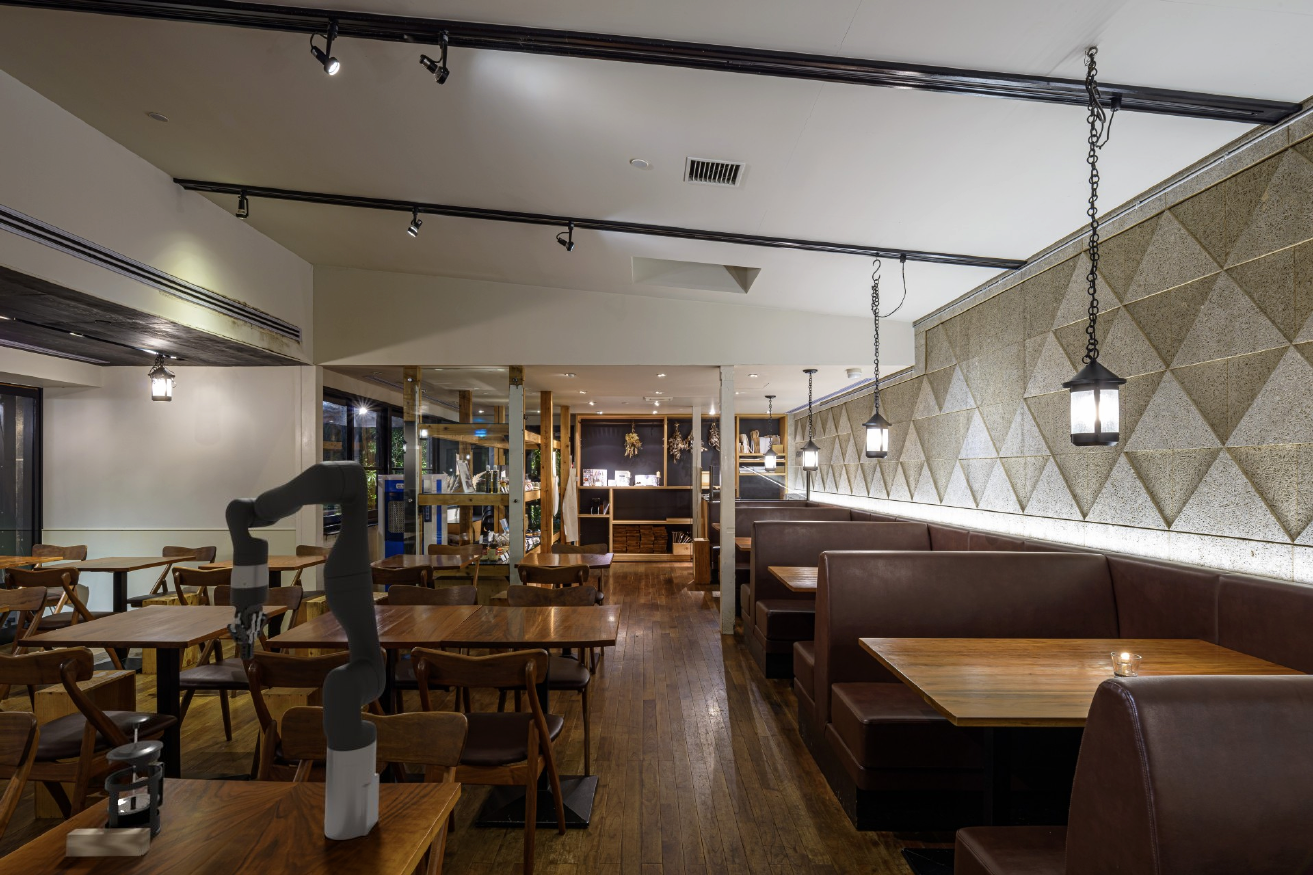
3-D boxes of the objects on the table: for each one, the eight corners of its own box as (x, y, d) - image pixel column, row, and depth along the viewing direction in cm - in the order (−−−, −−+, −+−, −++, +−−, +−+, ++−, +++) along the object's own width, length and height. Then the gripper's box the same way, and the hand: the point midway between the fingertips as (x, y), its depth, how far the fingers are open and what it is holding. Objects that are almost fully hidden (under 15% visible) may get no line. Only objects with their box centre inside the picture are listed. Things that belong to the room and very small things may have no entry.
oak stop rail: (149, 849, 127) (150, 828, 127) (141, 855, 125) (142, 833, 125) (74, 850, 127) (75, 828, 127) (65, 856, 125) (66, 834, 125)
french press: (130, 852, 126) (135, 729, 127) (84, 850, 127) (89, 727, 128) (179, 819, 138) (183, 707, 139) (137, 817, 139) (141, 706, 140)
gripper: (249, 588, 148) (246, 667, 147) (281, 578, 161) (279, 651, 160) (215, 588, 148) (212, 667, 147) (250, 578, 161) (247, 651, 160)
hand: (247, 658), depth 154 cm, fingers closed
